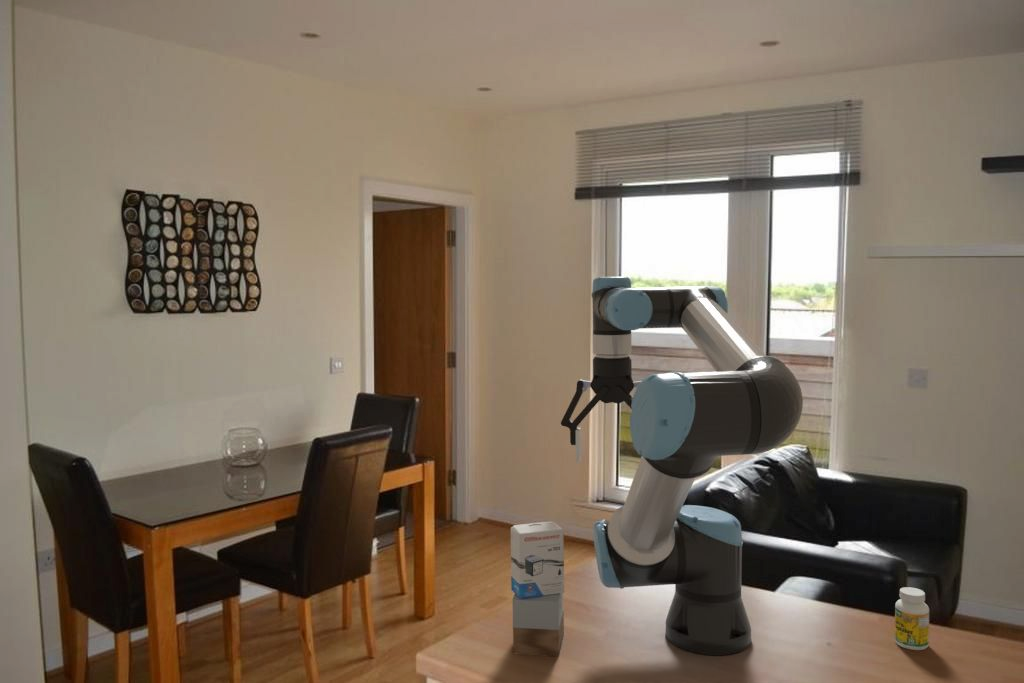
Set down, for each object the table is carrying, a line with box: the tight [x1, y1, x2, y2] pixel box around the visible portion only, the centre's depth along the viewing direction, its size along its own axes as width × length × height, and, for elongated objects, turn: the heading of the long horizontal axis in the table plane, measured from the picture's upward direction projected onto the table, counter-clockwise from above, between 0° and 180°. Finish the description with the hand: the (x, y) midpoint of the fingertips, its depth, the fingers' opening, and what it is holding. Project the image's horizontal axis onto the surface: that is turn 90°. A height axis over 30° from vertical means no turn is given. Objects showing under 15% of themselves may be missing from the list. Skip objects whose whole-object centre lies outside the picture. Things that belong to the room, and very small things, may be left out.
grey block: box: [512, 593, 564, 630], centre depth 143 cm, size 8×8×5 cm
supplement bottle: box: [894, 586, 930, 651], centre depth 141 cm, size 5×5×10 cm
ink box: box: [510, 521, 565, 599], centre depth 142 cm, size 9×5×12 cm, turn 108°
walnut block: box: [512, 609, 565, 657], centre depth 143 cm, size 8×8×5 cm
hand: (612, 462), depth 158 cm, fingers open, 13 cm apart
